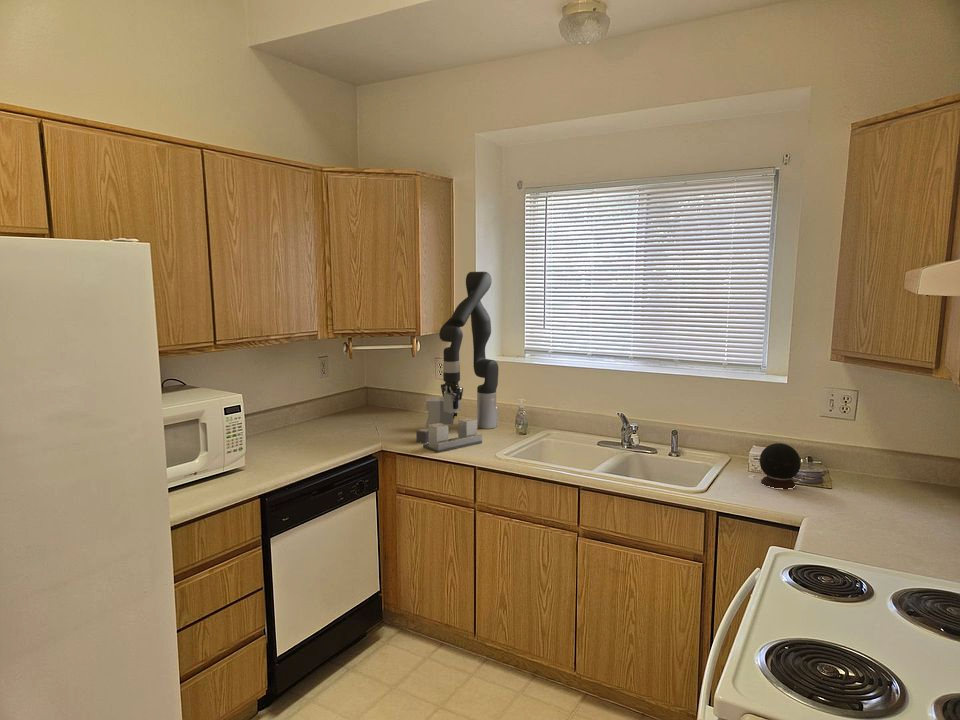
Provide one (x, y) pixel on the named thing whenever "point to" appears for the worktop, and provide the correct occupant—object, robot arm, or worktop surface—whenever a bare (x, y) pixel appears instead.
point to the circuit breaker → (438, 412)
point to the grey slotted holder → (464, 439)
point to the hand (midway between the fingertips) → (452, 407)
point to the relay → (422, 435)
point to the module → (450, 403)
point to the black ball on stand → (779, 465)
